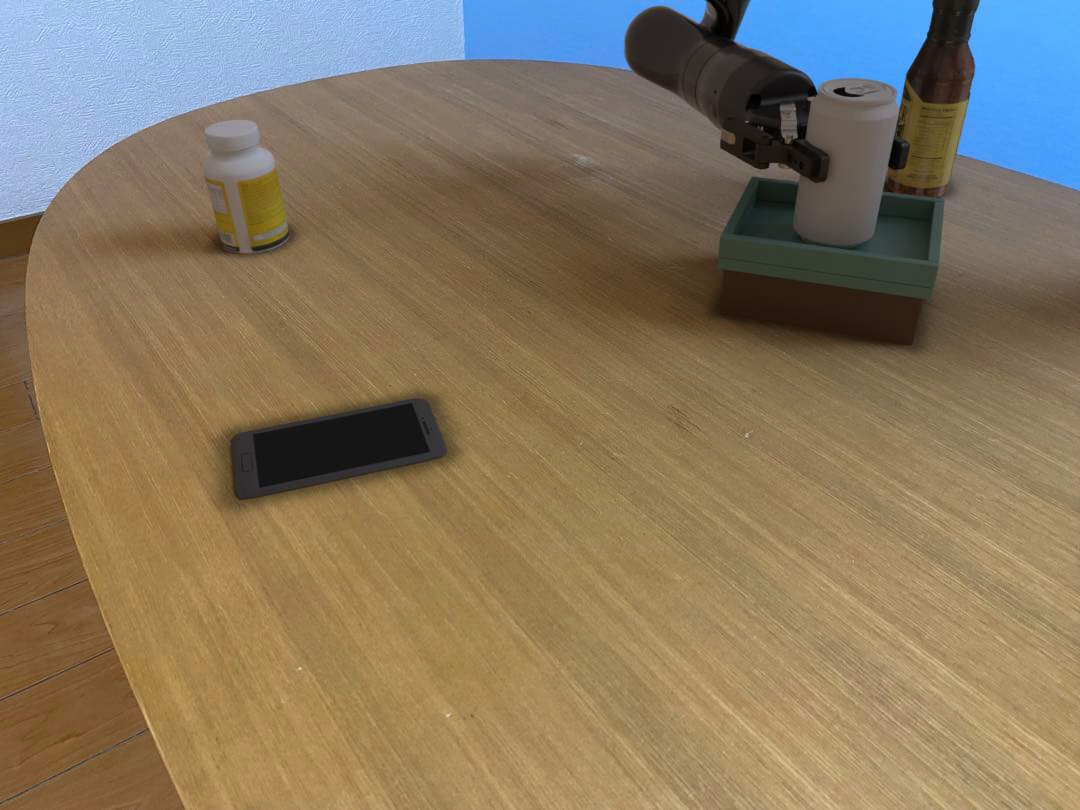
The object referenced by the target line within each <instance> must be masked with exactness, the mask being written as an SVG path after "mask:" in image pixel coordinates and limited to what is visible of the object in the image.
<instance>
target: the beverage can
mask: <svg viewBox="0 0 1080 810" xmlns="http://www.w3.org/2000/svg"><path fill="white" fill-rule="evenodd" d="M817 92H818V94H817V96H816V97H815V98H814V99H813V100H812V102H811V106H810V112H809V119H808V125H807V132H806V139H805V140H806V141H807V142H809V143H810V144H811V145H813V146H815V147H817V148H819V149H821V150H822V151H824V152H826V153H827V154H828V155H829V159H830V162H829V168H828V174H827V179H826V181H825V182H820V183H814V182H812V181H811V180H809V179H808V178H806V177H804V176H802V175H800V174H799V180H798V182H799V185H798V192H797V198H796V205H795V212H794V218H793V227H794V230H795V231H796V233H797V234H799V235H800V237H801V238H802V240H803V241H805V242H806V243H808V244H810V245H816V246H823V247H830V248H838V249H850V248H854V247H856V246H858V245H860V244H861V243H864V242H866V241H868V240H869V239H870V238H871V237H872V236H873V234H874V231H875V226H876V221H877V216H878V211H879V207H880V202H881V197H882V192H884V187H885V182H886V176H887V171H888V163H889V158H890V153H891V148H892V144H893V139H894V134H895V129H896V124H897V119H898V115H899V108H900V106H899V105H898V102H897V100H896V99H897V97H898V90H897V89H896V88H895V87H894V86H893V85H891V84H888V83H886V82H883V81H879V80H874V79H868V78H858V77H844V78H843V77H841V78H833V79H828V80H826V81H823V82H821V83H820V84H819V85H818V88H817Z"/></svg>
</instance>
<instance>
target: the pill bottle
mask: <svg viewBox="0 0 1080 810" xmlns="http://www.w3.org/2000/svg"><path fill="white" fill-rule="evenodd" d="M204 137H205V142H206V145H207V147H208V148H209V149H210V150H211V153H210V154H209V155H207V157H206V158H205V160H204V162H203V166H202V170H203V176H204V180H205V183H206V187H207V192H208V195H209V199H210V202H211V207H212V211H213V215H214V218H215V223H216V227H217V231H218V234H219V235H218V236H219V239H220V242H221V246H222V248H224V249H225V250H227V251H229V252H233V253H237V254H254V253H255V254H256V253H262V252H266V251H271V250H273V249H276V248H278V247H281V245H283V244H285V243H286V242H287V241H288V240H289V238H290V230H289V224H288V220H287V214H286V209H285V205H284V199H283V195H282V190H281V185H280V179H279V175H278V170H277V165H276V161H275V158H274V156H273V154H272V153H271V152H270V151H269V150H268V149H266V148H264V147H261V146H260V145H259V142H260V141H261V135H260V131H259V127H258V124H257V123H256V122H255V121H253V120H248V119H230V120H224V121H223V120H222V121H219V122H215V123H213V124H210V125H208V126H207V127H206V128H205V129H204Z"/></svg>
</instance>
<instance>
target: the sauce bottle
mask: <svg viewBox="0 0 1080 810" xmlns="http://www.w3.org/2000/svg"><path fill="white" fill-rule="evenodd" d="M980 2H981V0H932V3H931V4H932V5H931V6H932V13H931V18H930V23H929V26H928V31H927V33H926V37H925V40H924V41H923V43H922V45H921V47H920V49H919V51H918V53H917V55H916V56H915V58H914V59H913V61H912V63H911V64H910V66H909V68H908V70H907V71H906V73H905V78H904V85H903V89H902V93H901V99H900V104H899V115H898V117H899V118H900V120H899V125H898V128H897V132H896V135H897V136H899V137H900V138H902V139H904V140H906V141H908V142H909V143H910V149H909V154H908V159H907V163H906V167H905V168H904V169H900V170H893V169H891V168H889V167H888V168H887V173H886V175H887V176H888V177H887V180H886V181H887V182H886V183H887V188H888V191H890V193H899V194H907V195H916V196H925V197H933V198H940V197H942V196H944V195H945V194H946V193H947V191H948V186H949V182H950V179H951V178H952V175H953V170H954V166H955V163H956V159H957V154H958V151H959V150H958V149H959V146H960V141H961V137H962V133H963V128H964V125H965V124H964V123H965V119H966V116H967V111H968V107H969V103H970V99H971V89H972V85H973V80H974V77H975V74H976V73H975V72H976V63H975V62H976V61H975V58H974V56H973V53H972V50H971V48H970V45H969V41H970V39H971V37H972V33H971V31H972V28H973V23H974V19H975V14H976V13H977V11H978V9H979V6H980Z"/></svg>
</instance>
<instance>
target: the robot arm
mask: <svg viewBox="0 0 1080 810" xmlns="http://www.w3.org/2000/svg"><path fill="white" fill-rule="evenodd" d="M704 1H705V8H704V13H703V16H702V19H701V21H699V22H697V21H696V20H694V19H692V18H690V17H688V16H686V15H685V14H683V13H681V12H679V11H678V10H675V9H674V8H672V7H669V6H667V5H653V6H649V7H647V8H645V9H644V10H642V11H641V12H639V13H638V14H637V15H635V17H634V18H632V20H631V22H630V23H629V24H628V27H627V28H626V31H625V33H624V38H623V55H624V59H625V62H626V64H627V66H628V67H629V68H630V70H631V71H632V72H633V73H634V74H636V75H637V76H639V77H641V78H642V79H644V80H646V81H648V82H650V83H652V84H654V85H656V86H657V87H660V88H662V89H663V90H666V91H668V92H670V93H672V94H673V95H675V96H677V97H678V98H680V99H681V100H683V102H685V103H686V104H687V105H688V106H689V107H691V108H692V109H693V110H695V111H697V112H698V113H700V115H702V116H704V117H705V118H707V119H708V121H709V122H710V123H711V124H712V125H713V126H714V127H715V128H717V129H718V130H720V139H719V140H720V141H719V148H720V149H721V150H722V151H725V152H726V153H728V154H730V155H731V156H733V157H735V158H737V159H739V160H740V161H742V162H744V163H745V164H747V165H749V166H751V167H752V168H755V169H757V170H767V169H770V165H771V164H777V167H778V168H779V169H782V170H792V171H794V172H796V174H799V176H800V175H802V176H804V177H806V178H808V179H809V180H811V181H812V182H814V183H820V182H825V181H826V179H827V174H828V168H829V162H830V159H829V155H828V154H827V153H826V152H824V151H822V150H821V149H819V148H817V147H815V146H813V145H811V144H810V143H809V142H807V141H806V140H805V139H806V132H807V125H808V119H809V112H810V106H811V102H812V100H813V99H814V98H815V97H816V96H817V94H818V93H819V92H818V89H817V88H816V85H815V83H814V81H813V80H812V79H811V77H810V76H809V75H808V74H806V73H805V72H803V71H802V70H800V69H798V68H796V67H794V66H792V65H790V64H788V63H786V62H784V61H782V60H780V59H778V58H776V57H774V56H773V55H770V54H768V53H766V52H764V51H761V50H759V49H756V48H752V47H747V46H746V45H744V44H742V43H739V42H737V41H735V40H736V38H737V34H738V33H739V30H740V27H741V25H742V23H743V21H744V18H745V15H746V13H747V10H748V8H749V6H750V3H751V2H752V0H704ZM899 120H900V118H899V117H898V119H897V124H896V129H895V134H894V139H893V144H892V148H891V153H890V158H889V163H888V167H889V168H891V169H893V170H900V169H904V168H905V167H906V163H907V159H908V154H909V149H910V143H909V142H908V141H906V140H904V139H902V138H900V137H899V136H897V135H896V132H897V128H898V125H899Z"/></svg>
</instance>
